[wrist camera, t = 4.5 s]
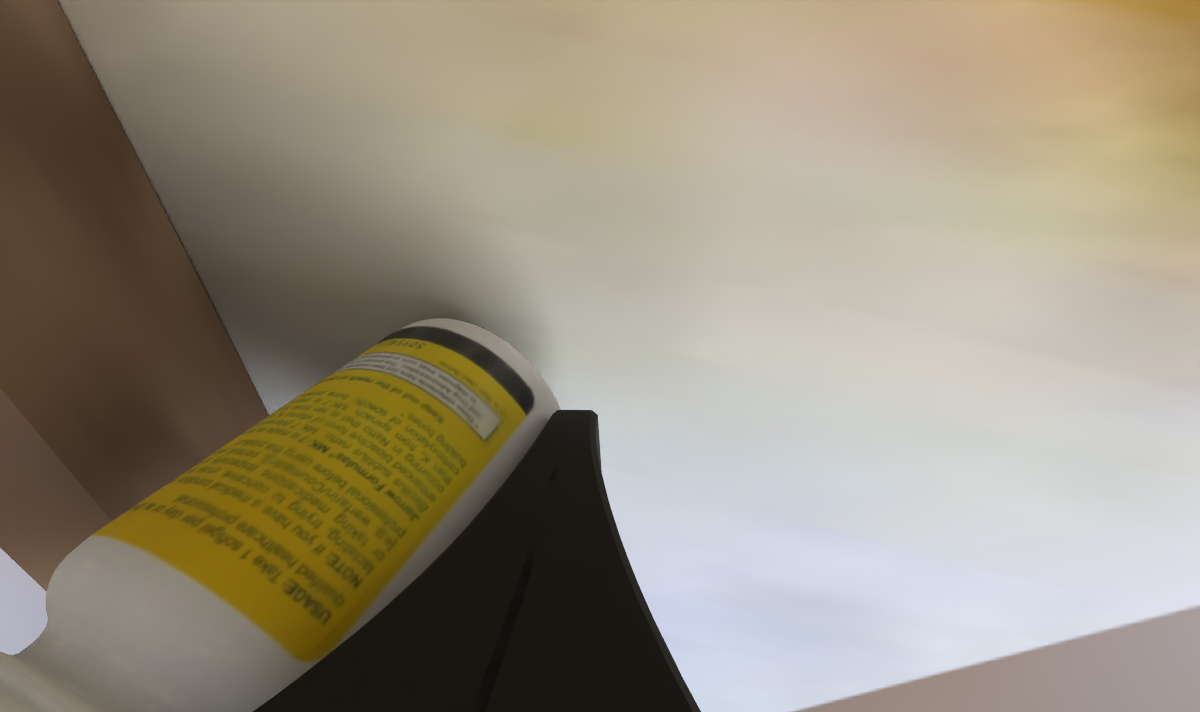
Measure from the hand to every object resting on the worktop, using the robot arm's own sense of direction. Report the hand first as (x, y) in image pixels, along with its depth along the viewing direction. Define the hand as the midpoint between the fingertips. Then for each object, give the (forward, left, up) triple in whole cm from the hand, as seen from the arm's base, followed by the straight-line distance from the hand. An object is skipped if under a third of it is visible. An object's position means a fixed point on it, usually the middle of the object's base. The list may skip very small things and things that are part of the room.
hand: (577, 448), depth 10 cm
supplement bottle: (0, +2, -2) cm, 3 cm away
